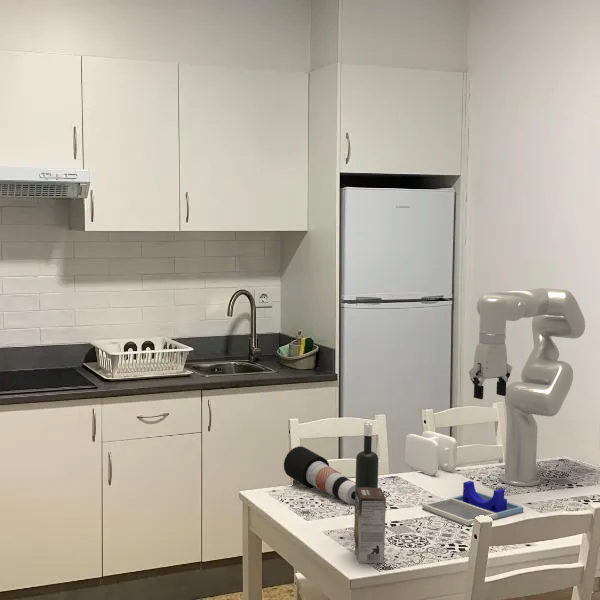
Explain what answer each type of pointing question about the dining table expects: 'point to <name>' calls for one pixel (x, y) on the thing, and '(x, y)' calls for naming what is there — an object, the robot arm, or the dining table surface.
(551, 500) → the dining table surface
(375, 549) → the coffee box
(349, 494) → the telephoto camera lens
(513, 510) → the grey divided tray
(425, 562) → the dining table surface
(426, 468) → the organizer
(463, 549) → the dining table surface
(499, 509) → the blue u-shaped cradle
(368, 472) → the wine bottle
